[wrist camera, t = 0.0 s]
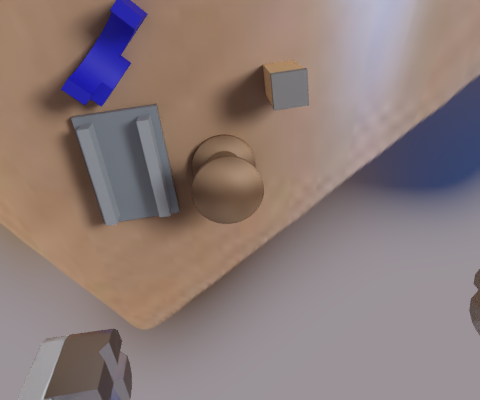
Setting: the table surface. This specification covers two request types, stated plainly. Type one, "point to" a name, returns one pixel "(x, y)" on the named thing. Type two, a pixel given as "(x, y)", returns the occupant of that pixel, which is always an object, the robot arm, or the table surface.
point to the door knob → (226, 180)
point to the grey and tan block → (286, 84)
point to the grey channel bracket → (127, 163)
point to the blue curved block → (106, 56)
